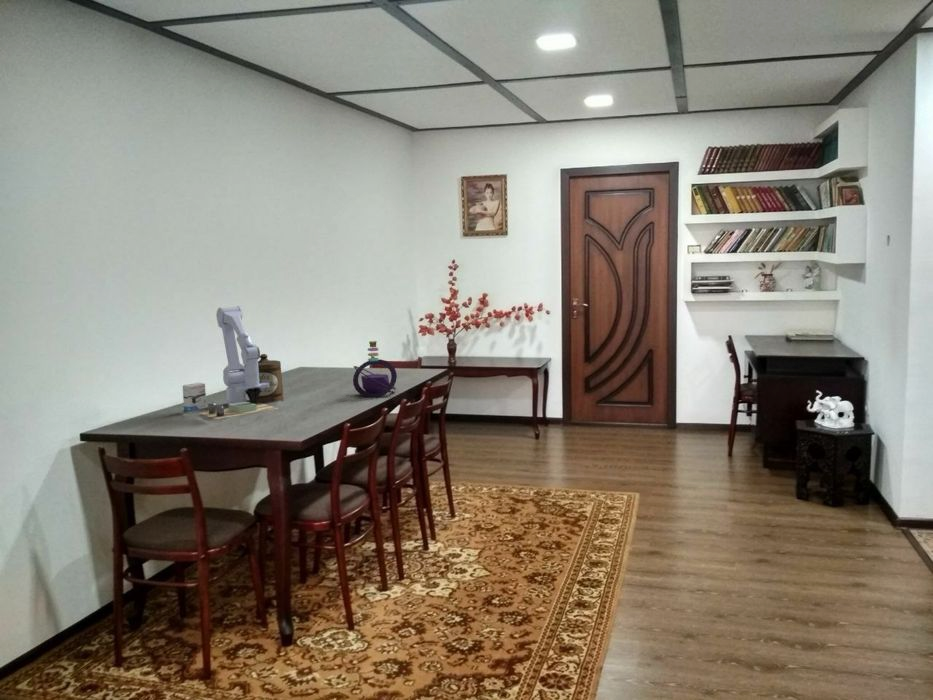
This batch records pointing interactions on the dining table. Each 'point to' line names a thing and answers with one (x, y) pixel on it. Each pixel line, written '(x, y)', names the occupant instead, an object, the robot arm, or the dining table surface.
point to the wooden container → (270, 380)
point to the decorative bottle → (374, 377)
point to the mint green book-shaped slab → (242, 407)
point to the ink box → (194, 396)
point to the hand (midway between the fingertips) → (253, 405)
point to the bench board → (230, 413)
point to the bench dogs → (216, 409)
